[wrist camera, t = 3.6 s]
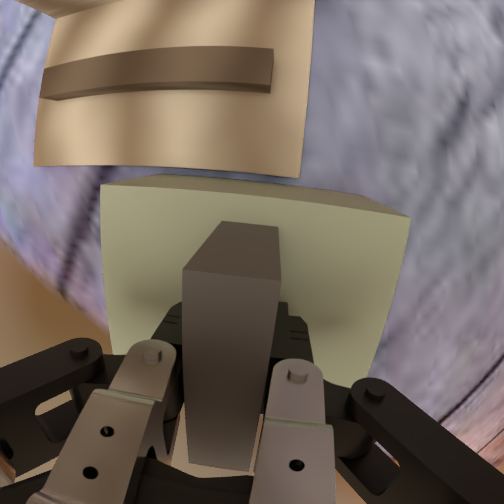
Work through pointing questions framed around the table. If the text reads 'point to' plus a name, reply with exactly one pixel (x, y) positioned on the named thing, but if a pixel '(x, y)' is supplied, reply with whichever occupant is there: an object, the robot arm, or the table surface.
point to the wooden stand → (176, 84)
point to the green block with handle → (246, 287)
